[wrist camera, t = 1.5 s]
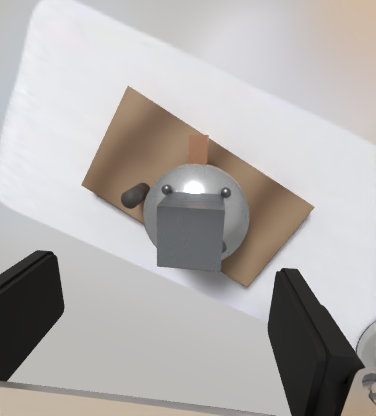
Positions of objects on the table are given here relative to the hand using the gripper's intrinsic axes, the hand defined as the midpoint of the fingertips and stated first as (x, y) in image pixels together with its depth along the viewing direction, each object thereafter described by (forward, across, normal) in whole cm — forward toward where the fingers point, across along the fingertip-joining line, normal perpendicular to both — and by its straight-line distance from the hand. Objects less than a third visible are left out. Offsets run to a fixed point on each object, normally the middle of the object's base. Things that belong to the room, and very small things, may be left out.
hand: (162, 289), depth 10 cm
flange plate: (+12, -1, -1) cm, 12 cm away
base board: (+17, 0, 0) cm, 17 cm away
